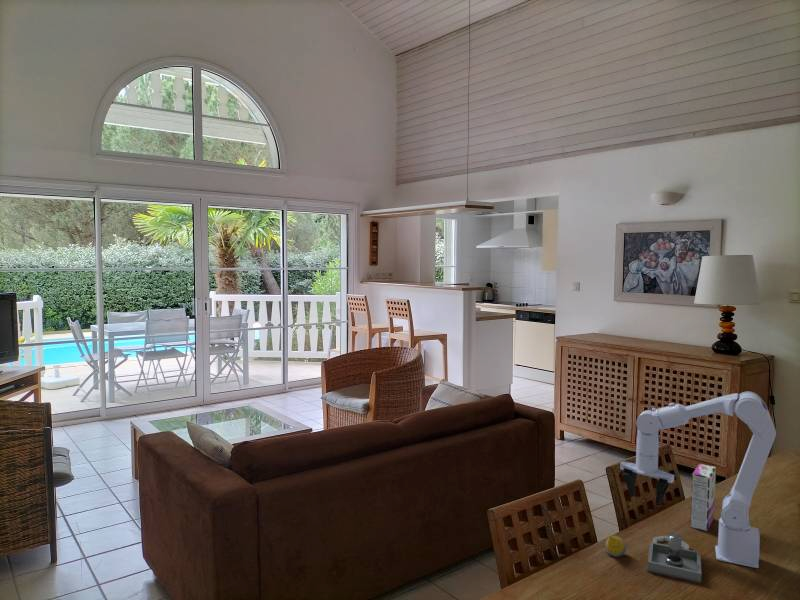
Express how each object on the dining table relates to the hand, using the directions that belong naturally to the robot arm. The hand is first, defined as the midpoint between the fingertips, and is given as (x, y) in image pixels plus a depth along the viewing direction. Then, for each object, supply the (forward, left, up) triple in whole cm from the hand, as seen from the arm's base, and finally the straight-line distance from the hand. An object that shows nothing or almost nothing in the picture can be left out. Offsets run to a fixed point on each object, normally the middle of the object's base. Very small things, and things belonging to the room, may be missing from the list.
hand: (645, 500), depth 163 cm
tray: (-8, +15, -10) cm, 20 cm away
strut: (-8, +14, -10) cm, 19 cm away
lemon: (+6, +16, -11) cm, 20 cm away
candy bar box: (-15, -17, -11) cm, 25 cm away
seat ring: (-7, +4, -10) cm, 13 cm away
